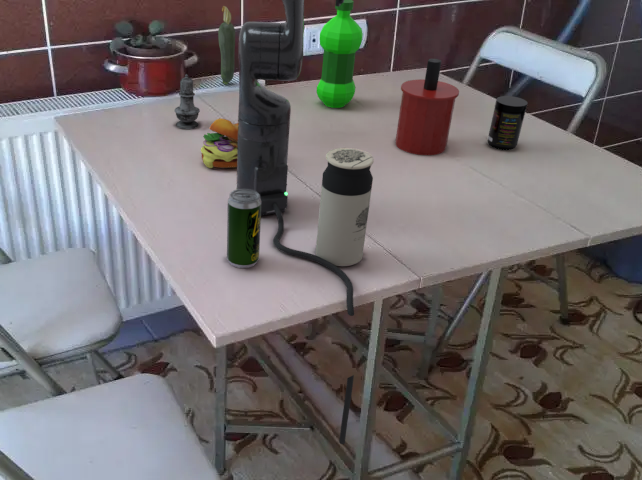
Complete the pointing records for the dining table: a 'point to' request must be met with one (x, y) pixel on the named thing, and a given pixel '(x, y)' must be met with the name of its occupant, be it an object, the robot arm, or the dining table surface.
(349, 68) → the plastic bottle
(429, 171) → the dining table surface
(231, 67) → the vegetable
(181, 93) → the salt shaker
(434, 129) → the canister
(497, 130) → the supplement container
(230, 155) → the cheeseburger
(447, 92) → the lid
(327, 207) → the travel mug
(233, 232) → the beer can
